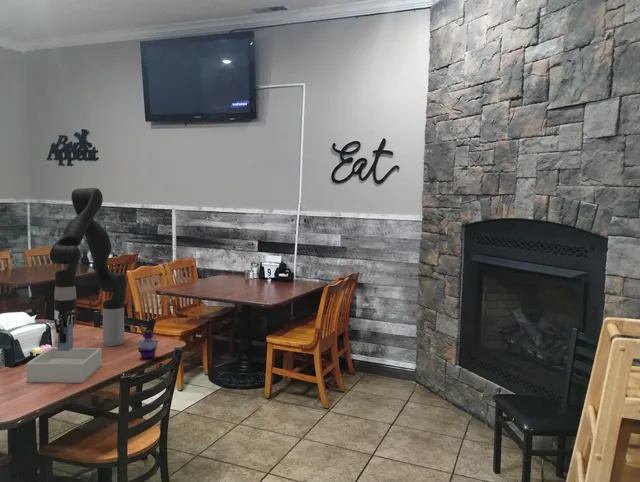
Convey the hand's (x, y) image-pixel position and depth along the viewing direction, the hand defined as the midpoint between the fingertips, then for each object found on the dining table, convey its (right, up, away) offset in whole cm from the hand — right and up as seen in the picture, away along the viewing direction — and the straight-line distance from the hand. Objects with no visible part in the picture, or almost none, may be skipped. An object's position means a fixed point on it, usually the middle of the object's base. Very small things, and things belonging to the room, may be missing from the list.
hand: (65, 341), depth 201 cm
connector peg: (0, -3, 0) cm, 3 cm away
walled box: (0, -13, +1) cm, 13 cm away
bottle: (-22, -8, +44) cm, 50 cm away
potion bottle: (+24, -12, +23) cm, 35 cm away
